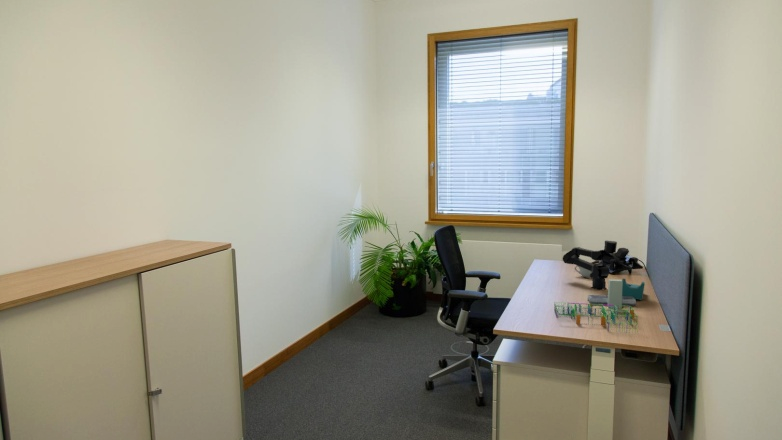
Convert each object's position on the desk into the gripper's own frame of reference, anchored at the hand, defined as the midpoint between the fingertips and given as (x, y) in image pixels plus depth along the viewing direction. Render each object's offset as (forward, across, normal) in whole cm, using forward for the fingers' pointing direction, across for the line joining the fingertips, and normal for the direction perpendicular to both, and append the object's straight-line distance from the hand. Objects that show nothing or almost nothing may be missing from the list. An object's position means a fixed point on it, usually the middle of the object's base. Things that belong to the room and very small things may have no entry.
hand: (636, 268), depth 265 cm
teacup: (-50, +18, +22) cm, 58 cm away
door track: (+3, -18, +17) cm, 25 cm away
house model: (+22, -49, +16) cm, 56 cm away
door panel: (+9, -23, +16) cm, 29 cm away
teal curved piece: (-3, +3, +18) cm, 18 cm away
